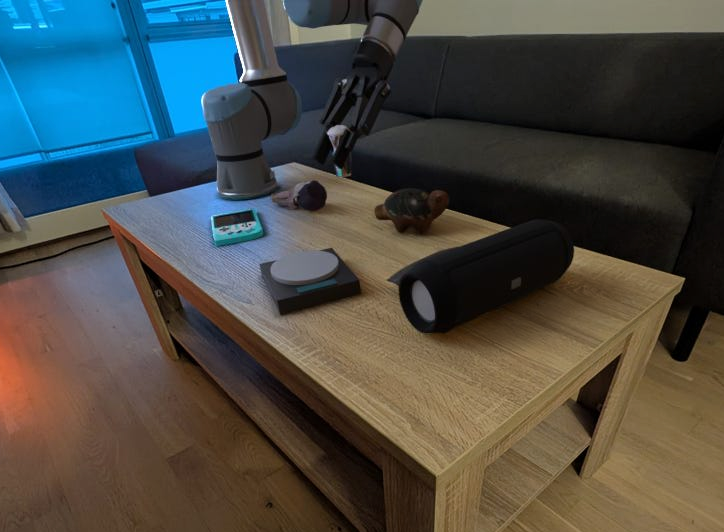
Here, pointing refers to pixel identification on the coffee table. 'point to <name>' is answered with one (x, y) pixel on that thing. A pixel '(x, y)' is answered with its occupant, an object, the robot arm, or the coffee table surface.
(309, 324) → the coffee table surface
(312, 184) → the figurine
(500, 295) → the portable speaker
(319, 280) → the scale
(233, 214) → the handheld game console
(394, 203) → the decorative turtle
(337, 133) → the milkshake
